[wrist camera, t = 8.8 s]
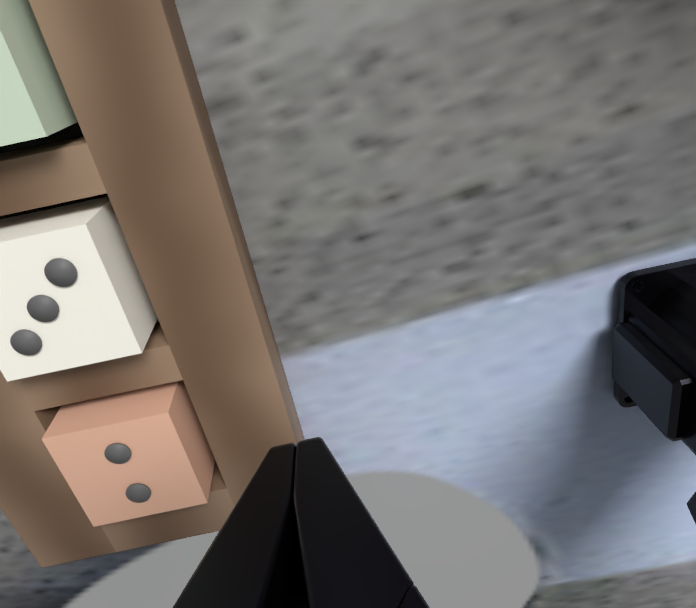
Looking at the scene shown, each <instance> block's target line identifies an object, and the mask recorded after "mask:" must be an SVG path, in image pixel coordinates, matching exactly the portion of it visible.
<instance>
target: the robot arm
mask: <svg viewBox="0 0 696 608" xmlns="http://www.w3.org/2000/svg"><path fill="white" fill-rule="evenodd" d="M637 281H638V284H637V285H636V286H635V287H634V288H631V287H632V285H633V284H634V283H635V282H637ZM612 377H613V379H614V380H615V383H614V398H615V399H616V401H617V402H618V403H619V404H620V405H621V406H622V407H632V406H638V407H639V408H640V409H641V410H642V411H643V412H644V413H645V414H646V416H647V417H648V418H649V419H650V420H651V421H652V422H653V423H654V424H655V426H656V427H657V428H658V429H659V430H660V431H661V432H662V433H663V435H664V436H665V437H667V438H668V439H670V440H672V441H677V440H682V441H683V442H684V443H685V444H686V445H687V446H688V447H689V448H690V449H691V451H692V452H693V453H694V454H695V455H696V258H694V259H689V260H684V261H679V262H675V263H670V264H665V265H660V266H656V267H651V268H646V269H641V270H637V271H632V272H630V273H627V274H626V275H625V276H624V277H623V278H622V279H621V281H620V285H619V303H618V323H617V325H616V327H615V329H614V339H613V360H612ZM626 395H628V396H627V397H625V396H626ZM687 506H688V508H689V510H690V512H691V515H692V517H693V519H694V521H695V523H696V492H695V493H694V495H693V496H692V497H691V498H690V500H689V501H688V502H687ZM173 608H429V606H428V604H427V603H426V601H425V600H424V598H423V597H422V595H421V593H420V592H419V591H418V589H417V587H416V586H414V584H413V581H412V580H411V578H410V577H409V575H408V574H407V572H406V570H405V569H404V567H403V566H402V564H401V562H400V561H399V559H398V558H397V556H396V554H395V553H394V551H393V550H392V548H391V547H390V545H389V544H388V542H387V540H386V539H385V537H384V536H383V534H382V532H381V531H380V529H379V528H378V526H377V525H376V523H375V521H374V520H373V518H372V517H371V515H370V514H369V512H368V510H367V509H366V507H365V506H364V504H363V502H362V501H361V499H360V498H359V496H358V494H357V493H356V491H355V490H354V488H353V486H352V485H351V484H350V482H349V480H348V479H347V477H346V475H345V474H344V472H343V471H342V469H341V467H340V466H339V464H338V463H337V461H336V460H335V458H334V456H333V455H332V453H331V452H330V450H329V448H328V447H327V445H326V444H325V442H324V441H323V439H322V438H320V437H316V438H312V439H307V440H302V441H299V442H298V443H297V445H296V444H294V443H288V444H283V445H278V446H274V447H272V448H270V449H269V451H268V452H267V454H266V455H265V457H264V459H263V460H262V462H261V464H260V465H259V467H258V469H257V470H256V472H255V473H254V475H253V477H252V478H251V480H250V482H249V483H248V485H247V487H246V488H245V490H244V492H243V493H242V495H241V496H240V498H239V500H238V501H237V503H236V505H235V506H234V508H233V510H232V511H231V513H230V515H229V516H228V518H227V519H226V521H225V523H224V524H223V526H222V528H221V529H220V531H219V533H218V534H217V536H216V538H215V539H214V541H213V542H212V544H211V546H210V548H209V549H208V551H207V552H206V554H205V556H204V557H203V559H202V561H201V562H200V564H199V565H198V567H197V569H196V570H195V572H194V574H193V575H192V577H191V579H190V580H189V582H188V583H187V585H186V587H185V588H184V590H183V592H182V593H181V595H180V597H179V598H178V600H177V602H176V603H175V605H174V606H173Z"/></svg>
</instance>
